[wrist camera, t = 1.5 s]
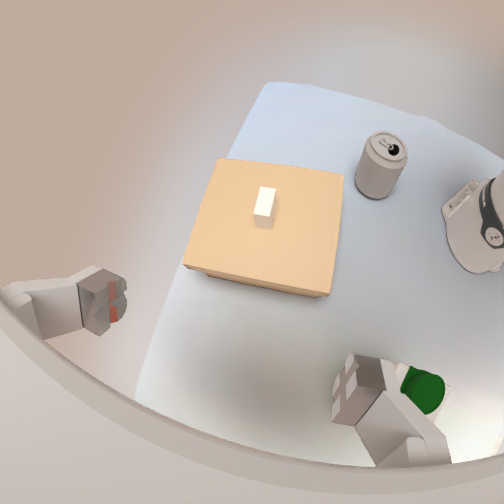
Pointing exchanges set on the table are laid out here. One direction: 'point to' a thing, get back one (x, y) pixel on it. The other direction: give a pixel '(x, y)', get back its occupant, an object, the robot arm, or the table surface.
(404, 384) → the milk carton
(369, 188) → the can
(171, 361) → the table surface
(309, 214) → the carton lid
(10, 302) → the robot arm
